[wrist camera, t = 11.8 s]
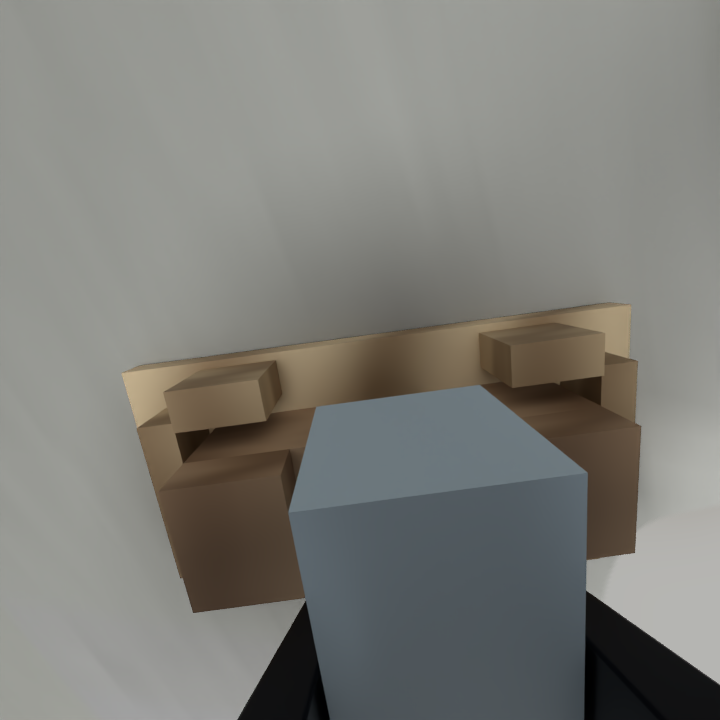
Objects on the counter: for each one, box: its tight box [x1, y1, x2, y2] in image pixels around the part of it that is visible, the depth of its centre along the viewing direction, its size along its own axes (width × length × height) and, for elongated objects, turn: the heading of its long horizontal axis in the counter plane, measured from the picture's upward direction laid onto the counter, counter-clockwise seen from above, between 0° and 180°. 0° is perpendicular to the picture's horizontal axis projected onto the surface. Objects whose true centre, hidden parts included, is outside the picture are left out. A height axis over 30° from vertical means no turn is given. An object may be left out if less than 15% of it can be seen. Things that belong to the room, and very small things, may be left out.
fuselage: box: [158, 382, 641, 613], centre depth 12 cm, size 13×4×5 cm, turn 98°
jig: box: [122, 303, 638, 609], centre depth 14 cm, size 20×9×4 cm, turn 98°
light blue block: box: [288, 385, 588, 720], centre depth 7 cm, size 4×8×4 cm, turn 7°
